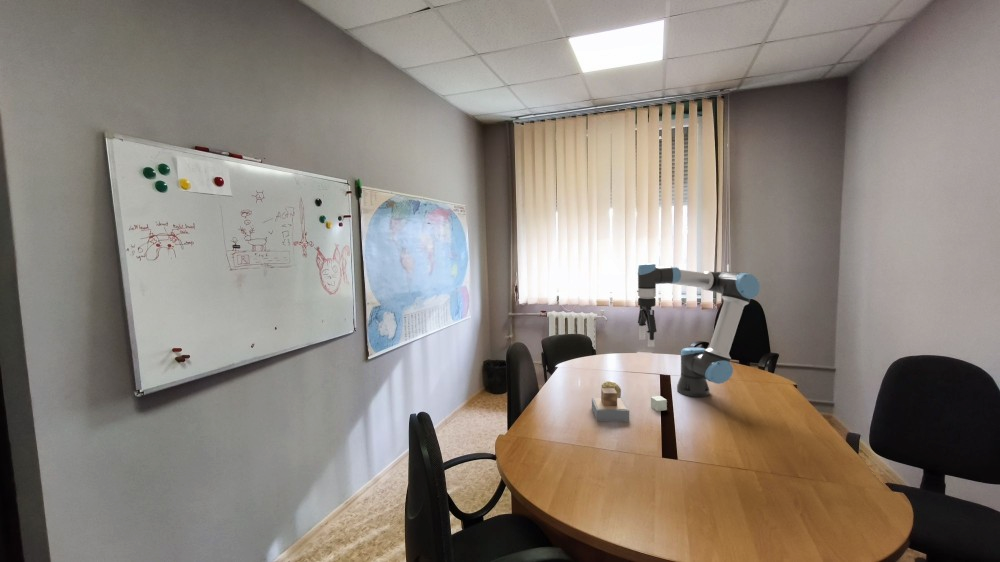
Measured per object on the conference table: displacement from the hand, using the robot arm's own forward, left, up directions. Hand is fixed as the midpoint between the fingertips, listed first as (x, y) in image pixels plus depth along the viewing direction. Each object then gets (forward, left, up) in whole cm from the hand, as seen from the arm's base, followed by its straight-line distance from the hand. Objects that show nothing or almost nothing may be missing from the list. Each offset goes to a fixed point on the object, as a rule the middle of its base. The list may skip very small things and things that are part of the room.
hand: (646, 342), depth 179 cm
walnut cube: (+18, +6, -26) cm, 33 cm away
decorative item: (+13, -15, -32) cm, 38 cm away
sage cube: (-6, -1, -32) cm, 32 cm away
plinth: (+18, +6, -32) cm, 37 cm away
